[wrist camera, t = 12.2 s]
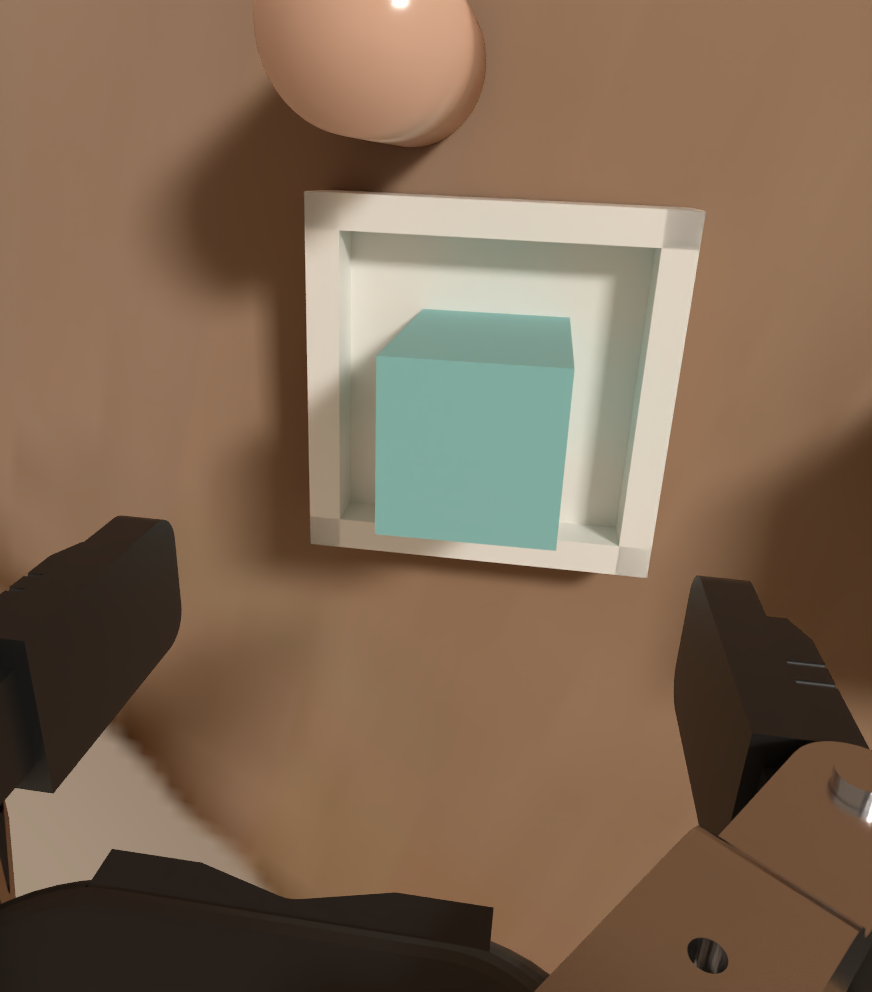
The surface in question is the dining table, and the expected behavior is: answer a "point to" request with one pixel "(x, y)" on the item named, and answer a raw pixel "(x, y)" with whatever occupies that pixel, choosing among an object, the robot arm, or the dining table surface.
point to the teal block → (473, 428)
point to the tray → (508, 290)
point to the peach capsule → (374, 65)
